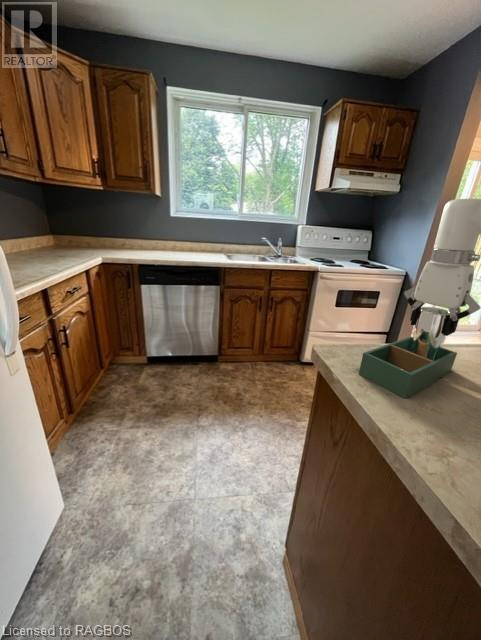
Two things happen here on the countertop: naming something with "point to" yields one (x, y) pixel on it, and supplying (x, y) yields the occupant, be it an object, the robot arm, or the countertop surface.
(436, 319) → the beer glass
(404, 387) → the divided box
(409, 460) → the countertop surface
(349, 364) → the countertop surface
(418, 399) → the countertop surface
